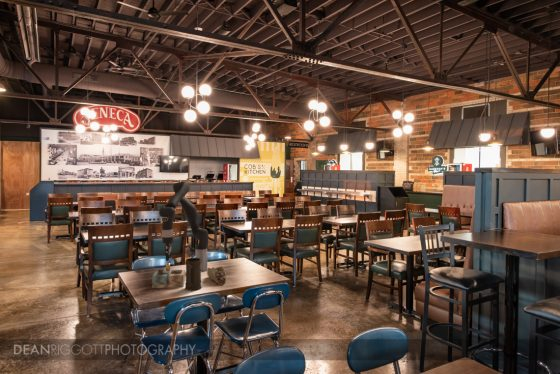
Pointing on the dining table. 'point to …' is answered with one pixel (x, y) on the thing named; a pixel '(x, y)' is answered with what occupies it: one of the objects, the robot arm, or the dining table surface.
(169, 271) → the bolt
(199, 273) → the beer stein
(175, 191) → the robot arm
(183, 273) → the clear plastic box
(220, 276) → the burrito
